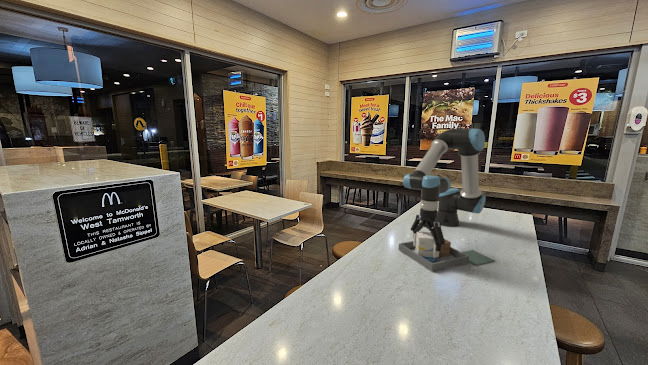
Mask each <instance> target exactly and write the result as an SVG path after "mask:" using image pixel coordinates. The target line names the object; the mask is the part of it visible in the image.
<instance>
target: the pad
mask: <svg viewBox="0 0 648 365" xmlns="http://www.w3.org/2000/svg"><path fill="white" fill-rule="evenodd" d="M461 252H462V253H464V254H466V255H468V256H469V262H468V263H470V264H472V265H474V266H476V267H477V266H480V265H485V264H489V263H494V262H496V259H493V258H492V257H489V256H487V255H485V254H482V253H480V252H478V251H477V250H475V249H471V250H465V251H461Z"/></svg>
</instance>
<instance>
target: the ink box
mask: <svg viewBox="0 0 648 365" xmlns="http://www.w3.org/2000/svg"><path fill="white" fill-rule="evenodd" d="M434 244H436V243H435V241H434V238H433V236H432V234H431V232H430V231H429V232H428V231H419V232H417V235H416V248H414V252H415V253H417V254H418V255H420V256H422V257H423V258H425V259H426V260H428V261H430V262H431V263H436V262H437V261H436V260H437V257H436V258H434V257H433V252H434Z"/></svg>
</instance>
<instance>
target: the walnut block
mask: <svg viewBox="0 0 648 365" xmlns="http://www.w3.org/2000/svg"><path fill="white" fill-rule="evenodd" d="M444 241H445V244H443V245H441V249H440V251H439V257H438V258H444V257H447V256H450V247H451V246H452V242H451V241H449V240H448V239H445V238H444Z"/></svg>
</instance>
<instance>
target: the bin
mask: <svg viewBox="0 0 648 365" xmlns="http://www.w3.org/2000/svg"><path fill="white" fill-rule="evenodd" d="M413 242H414V240H412V241H406V242H400V243H398V251H400V252H401V253H402V254H404V255H405V256H407V257H408V258H410V259H412V260H413V261H415V262H416V263H418V264H419V265H421V266H423V267H424V268H425V269H426V270H428V271H430V272H432V273H433V272H437V271H441V270H445V269H450V268H453V267H458V266H461V265H467V264H469V263H470V262H469V256H468V255H466V254H464V253H462V252H463V251H459V250H458V249H455V248H454V247H451V246H450V255H451V256H453V257H454V258H451V259H445V260H441V261H436V262H430V261H428V260H426V259H425V258H423V257H422V256H420V255H418V254H417V253H415V251H414V250H412V249H415V248H416V246H413ZM450 255H449V256H450Z"/></svg>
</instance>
